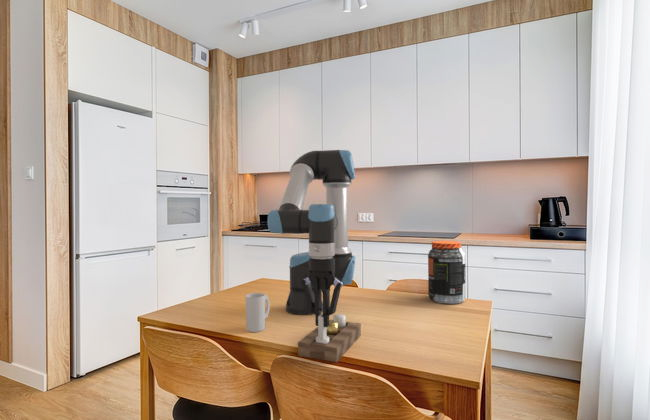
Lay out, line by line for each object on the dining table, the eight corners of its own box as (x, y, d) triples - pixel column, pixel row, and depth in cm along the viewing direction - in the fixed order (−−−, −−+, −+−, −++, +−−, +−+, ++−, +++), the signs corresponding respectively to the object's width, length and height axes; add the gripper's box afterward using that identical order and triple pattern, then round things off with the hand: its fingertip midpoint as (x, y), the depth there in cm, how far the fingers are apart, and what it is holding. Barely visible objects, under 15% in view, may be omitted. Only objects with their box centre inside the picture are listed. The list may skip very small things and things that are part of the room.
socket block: (336, 362, 105) (336, 347, 105) (298, 355, 110) (298, 341, 110) (360, 335, 126) (360, 323, 126) (327, 330, 130) (327, 319, 130)
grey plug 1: (313, 352, 110) (313, 339, 110) (319, 347, 114) (319, 334, 114) (326, 355, 109) (326, 341, 109) (331, 349, 113) (331, 336, 112)
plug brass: (323, 336, 117) (322, 323, 117) (328, 332, 120) (327, 319, 120) (335, 338, 115) (335, 325, 115) (339, 334, 119) (339, 321, 119)
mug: (254, 334, 128) (254, 298, 128) (241, 330, 132) (241, 295, 132) (276, 326, 136) (275, 292, 136) (263, 322, 140) (262, 290, 140)
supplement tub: (473, 301, 166) (473, 242, 166) (450, 307, 158) (450, 244, 157) (443, 293, 180) (443, 239, 179) (420, 299, 171) (420, 241, 170)
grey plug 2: (331, 329, 123) (331, 317, 123) (336, 325, 127) (335, 313, 127) (343, 330, 122) (343, 318, 122) (347, 327, 125) (347, 315, 125)
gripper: (295, 257, 110) (296, 338, 110) (338, 260, 105) (338, 344, 105) (307, 254, 117) (307, 330, 117) (347, 256, 112) (347, 335, 112)
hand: (322, 337), depth 111 cm, fingers closed
